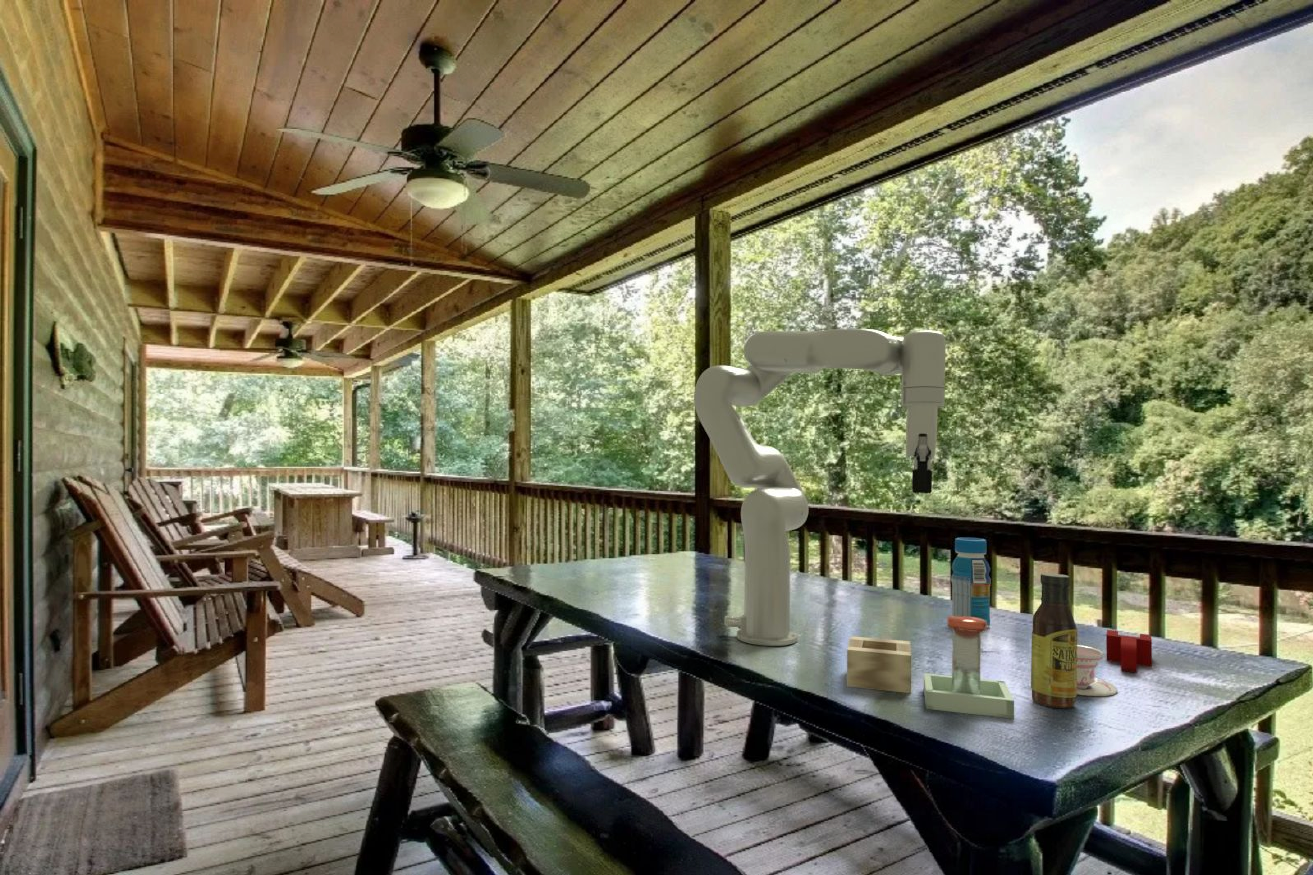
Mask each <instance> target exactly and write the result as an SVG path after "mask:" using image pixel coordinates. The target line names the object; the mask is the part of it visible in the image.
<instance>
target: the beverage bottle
mask: <svg viewBox="0 0 1313 875" xmlns="http://www.w3.org/2000/svg"><path fill="white" fill-rule="evenodd" d="M954 540H955V541H954V551H955V553H956V554H957V555H956V557H955V558H954V560H953V561H952V563H951V569H952V570H951V571H952V574H951V577H950V581H951V582H950V583H951V590H952V591H951V593H952V594H951V597H952V598H951V599H952V600H951V602H952V604H951V605H952V608H951V611H952V612H951V616H969V617H976V618H980V619H983V620H986V621H987V629H988V628H990V627H991V615H990V613H991V611H990V610H991V609H990V608H991V607H990V606H991V604H990V603H991V601H990V600H991V599H990V597H991V596H990V595H991V588H990V587H991V584H992V583H991V582H992V581H991V580H992V579H991V577H990V575H989V574H990V572H991V567H990V564H989V562H988V561H987V559H986V557H985V556H984V555H987V540H986V539H984V538H979V537H978V538H977V537H957V538H955V539H954Z"/></svg>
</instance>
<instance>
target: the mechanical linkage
mask: <svg viewBox="0 0 1313 875" xmlns="http://www.w3.org/2000/svg"><path fill="white" fill-rule="evenodd" d="M1105 637H1106V639H1105V641H1106V643H1105V644H1106V661H1108V662H1116V663H1120V671H1122V672H1129V673H1135V674H1136V673H1137V672H1138V671H1137V670H1138V669H1137V668H1138V667H1137V666H1144V667H1151V668H1152V667H1153V657H1152V656H1153V652H1152V650H1153V649H1152V648H1153V646H1152V645H1153V644H1152V635H1151V634H1148V633H1147V634H1146V633H1139V637H1138V636H1129V635H1123V634H1122V635H1121V634H1119V631H1118V630H1114V629H1113V630H1111V629H1107V630H1106V636H1105Z"/></svg>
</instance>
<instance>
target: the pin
mask: <svg viewBox="0 0 1313 875" xmlns="http://www.w3.org/2000/svg"><path fill="white" fill-rule="evenodd" d="M946 622H947V623H946V624H947V625H946V627H949V628H950V629H952V654H951V656H952V658H951V661H952V662H951V663H952V664H951V666H952V668H951V676H952V692H956V693H965V694H974V695H980V679H981V653H982V652H981V651H982V650H981V649H982V648H981V647H982V646H981V644H982V642H981V641H982V640H981V639H982V638H981V636H982V634H981V633H982V632H985V631H987V629H988V628H987V621H986V620H983V619H980V618H976V617H969V616H952V615H950V616H949V615H948V616H947V621H946Z"/></svg>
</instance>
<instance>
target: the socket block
mask: <svg viewBox="0 0 1313 875" xmlns="http://www.w3.org/2000/svg"><path fill="white" fill-rule="evenodd" d="M846 686H847V687H851V688H860V689H868V690H878V691H887V692H894V693H895V692H897V693H906V694H912V649H911V641H909V640H899V639H898V640H897V639H886V638H874V637H863V636H850V638H849V641H848V645H847V649H846Z"/></svg>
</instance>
